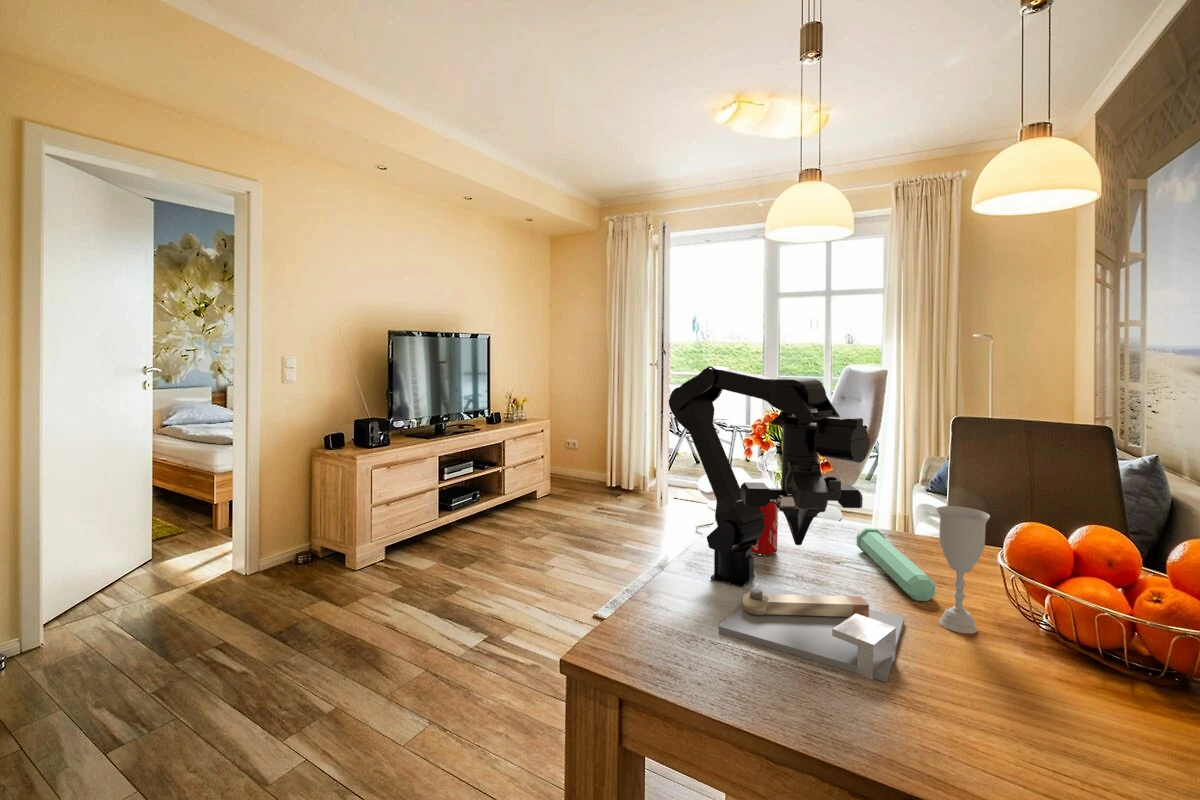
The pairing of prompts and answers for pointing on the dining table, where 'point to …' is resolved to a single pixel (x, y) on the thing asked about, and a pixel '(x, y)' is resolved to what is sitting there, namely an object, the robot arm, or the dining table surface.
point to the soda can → (768, 531)
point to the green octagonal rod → (896, 565)
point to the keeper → (868, 642)
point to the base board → (805, 634)
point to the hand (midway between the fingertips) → (797, 544)
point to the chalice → (961, 557)
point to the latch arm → (803, 604)
